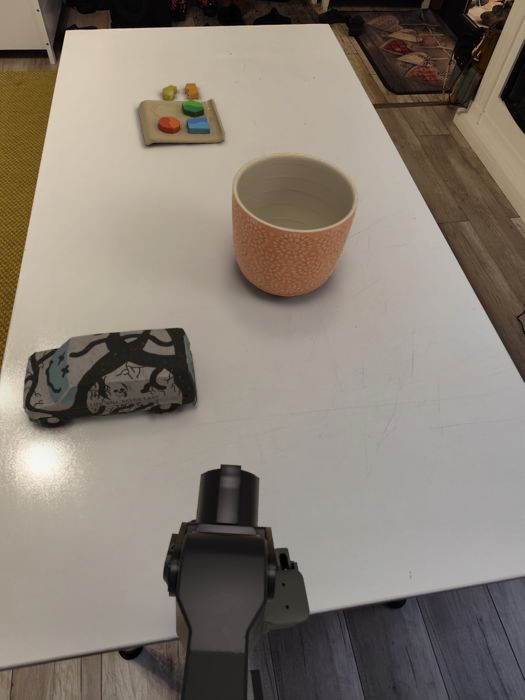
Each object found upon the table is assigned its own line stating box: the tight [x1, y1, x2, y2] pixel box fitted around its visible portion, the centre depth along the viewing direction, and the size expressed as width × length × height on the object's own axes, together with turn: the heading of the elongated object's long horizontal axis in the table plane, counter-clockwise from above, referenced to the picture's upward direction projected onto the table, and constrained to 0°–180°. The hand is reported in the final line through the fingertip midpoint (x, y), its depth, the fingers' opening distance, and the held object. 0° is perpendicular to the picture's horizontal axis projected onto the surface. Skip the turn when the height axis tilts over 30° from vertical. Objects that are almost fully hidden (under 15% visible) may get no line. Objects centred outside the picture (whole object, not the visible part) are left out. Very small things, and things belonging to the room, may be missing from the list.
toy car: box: [22, 327, 199, 429], centre depth 78 cm, size 11×25×10 cm, turn 100°
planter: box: [231, 152, 359, 297], centre depth 93 cm, size 21×21×19 cm
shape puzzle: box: [138, 82, 226, 146], centre depth 128 cm, size 25×19×3 cm
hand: (219, 625), depth 59 cm, fingers closed
